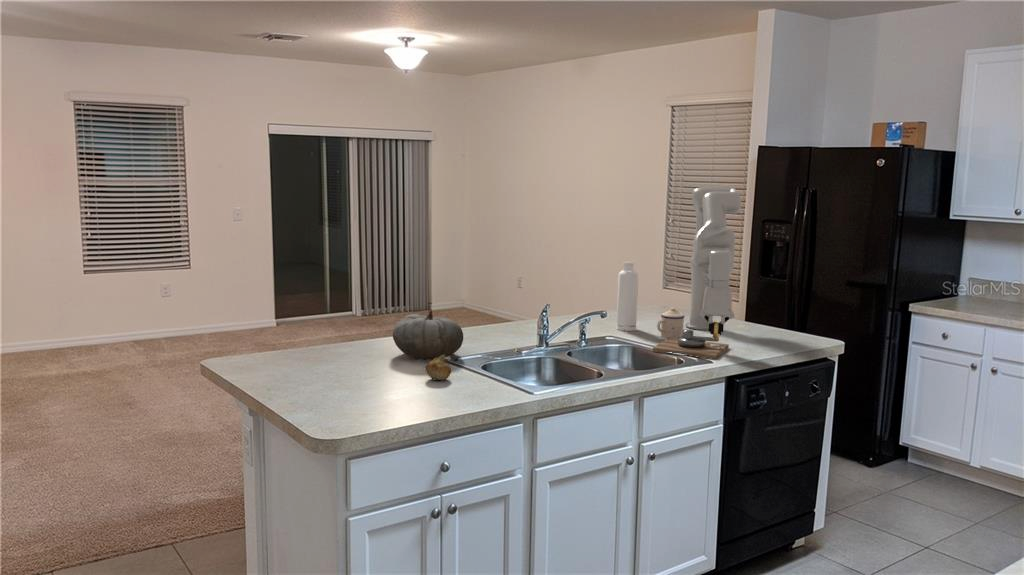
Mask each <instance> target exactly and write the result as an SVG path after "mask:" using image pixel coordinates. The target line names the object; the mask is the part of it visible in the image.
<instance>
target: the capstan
mask: <svg viewBox="0 0 1024 575" xmlns="http://www.w3.org/2000/svg"><path fill="white" fill-rule="evenodd" d="M719 328H720V321H713V334H711V336H697V335H694V329H683V331H682V336H681V337H678V344H679V345H681V346H685V347H703V346H705V342H713V343H719V341H720V334H719Z"/></svg>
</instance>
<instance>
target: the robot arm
mask: <svg viewBox="0 0 1024 575" xmlns="http://www.w3.org/2000/svg"><path fill="white" fill-rule="evenodd" d="M691 197H692V198H691V199H692V201H691V202H692V206H693V209H694V212H695V216H696V219H695V221H696V222H695V236H694V238H693V241H692V256H691V257H690V261H689V262H690V264H689V266H690V274H691V275H690V276H691V280H690V281H691V284H690V285H691V286H690V288H691V289H690V303H689V304H690V306H689V307H690V308H689V321H687V322H686V323H685V327H686V328H688V329H690V330H697V331H698V330H700V331H708V332H709V333H710V335H712V334H713V322H714V321H713V320H714V316H715V317H720V321H719V322H720V328H719V336H721V335H722V333H724V327H725V326H724V325H725V323H727V321H729V320H732V319H734V318H735V316H736V315H735V314H734V311H733V295H732V294H733V293H732V288H730V276H731V275H732V274H733V271H734V263H735V249H736V248H735V247H736V234H735V231H734V229H732V228H731V227H727V214H735V215H736V214H738V213H740V211H741V208H742V198H741V197H742V196H741V194H740V192H739V191H738V190H737V189H736V188H734V187H719V186H718V187H717V186H701V187H696V188H695V189H693V190H692V194H691Z"/></svg>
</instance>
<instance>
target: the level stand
mask: <svg viewBox="0 0 1024 575" xmlns="http://www.w3.org/2000/svg"><path fill="white" fill-rule="evenodd" d="M729 347H730V346H729V344H728V343H720V342H714V341H706V342H705V346H703V347H685V346H681V345H679V344H678V338H670V337H669V338H665V339H664V340H662V341H661V342H659V343H658V344H656V345H655V346H653V347H652V352H653V353H654V352H655V353H660V354H661V353H662V354H665V353H664V352H672V353H681V354H687V355H692V356H698V357H697V358H700V357H706V358H705V359H708V358H712V359H711V360H717V359H718V358H720V357H721V355H723V354H724V353H725V352H726V351H727V350H728V349H729ZM722 353H723V354H722ZM692 356H691V357H692ZM716 358H717V359H716Z"/></svg>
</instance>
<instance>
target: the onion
mask: <svg viewBox="0 0 1024 575" xmlns="http://www.w3.org/2000/svg"><path fill="white" fill-rule="evenodd" d="M445 356H446V355H441V356H440V357H438V358H435V359H431V360H430V361H429V362H428V363H427V364H426V365H425V373H426V374H427V375H428V377H429V378H431V380H433V379H435V380H434V381H436V380H441V381H445V380H447V379H448V378H449V377H450V375H451V373H452V369H451V366H450V364H449V363H448V362H449V361H451V359H452V358H451V356H449V357H445ZM444 379H445V380H444Z"/></svg>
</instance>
